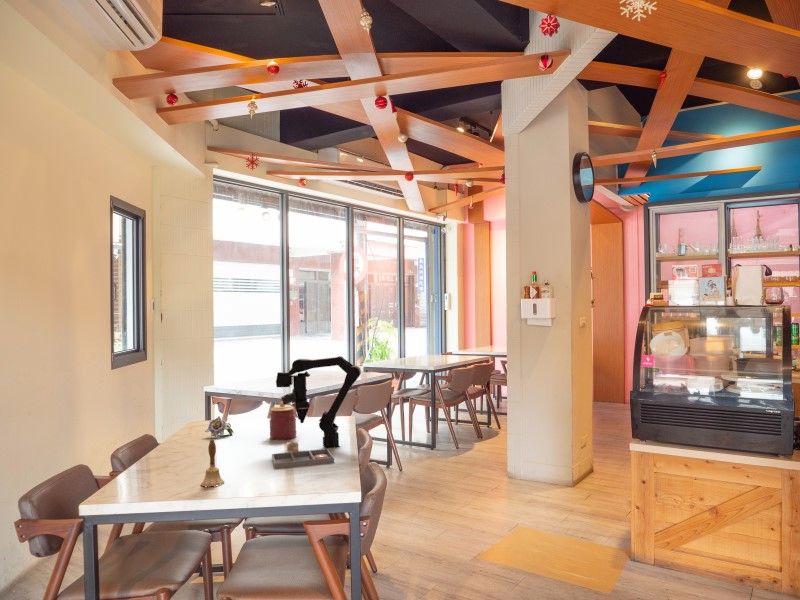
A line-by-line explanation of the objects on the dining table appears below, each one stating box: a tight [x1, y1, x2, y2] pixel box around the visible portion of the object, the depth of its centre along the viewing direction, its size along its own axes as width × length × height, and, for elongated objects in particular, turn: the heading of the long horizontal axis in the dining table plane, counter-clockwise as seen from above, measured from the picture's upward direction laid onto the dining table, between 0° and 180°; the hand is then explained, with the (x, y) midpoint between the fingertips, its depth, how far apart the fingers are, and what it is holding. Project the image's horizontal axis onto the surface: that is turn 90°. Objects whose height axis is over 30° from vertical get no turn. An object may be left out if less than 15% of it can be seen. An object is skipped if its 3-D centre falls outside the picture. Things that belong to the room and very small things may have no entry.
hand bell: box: [200, 439, 225, 487], centre depth 211 cm, size 8×8×16 cm
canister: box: [268, 401, 297, 440], centre depth 288 cm, size 13×13×18 cm
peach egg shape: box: [315, 454, 327, 459], centre depth 240 cm, size 5×5×1 cm
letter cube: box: [286, 441, 299, 453], centre depth 252 cm, size 4×4×5 cm
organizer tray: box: [271, 448, 335, 470], centre depth 238 cm, size 23×16×2 cm
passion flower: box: [204, 415, 234, 439], centre depth 296 cm, size 11×11×12 cm
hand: (300, 421), depth 264 cm, fingers open, 9 cm apart
